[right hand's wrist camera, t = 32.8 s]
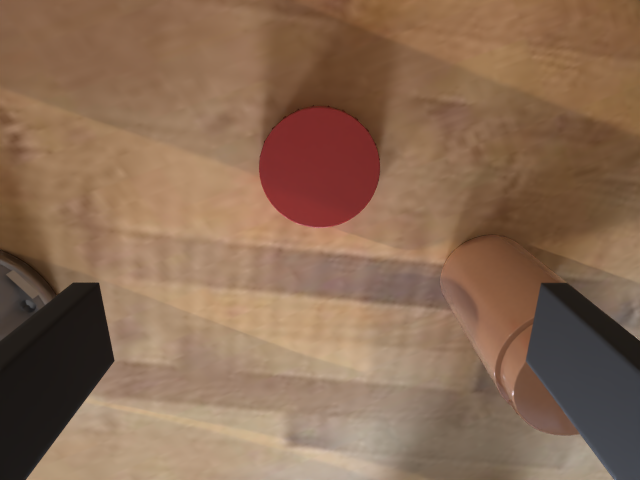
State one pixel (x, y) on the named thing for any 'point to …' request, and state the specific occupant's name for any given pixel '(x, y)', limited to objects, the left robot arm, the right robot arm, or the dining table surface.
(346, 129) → the lid
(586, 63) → the dining table surface
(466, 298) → the jar
